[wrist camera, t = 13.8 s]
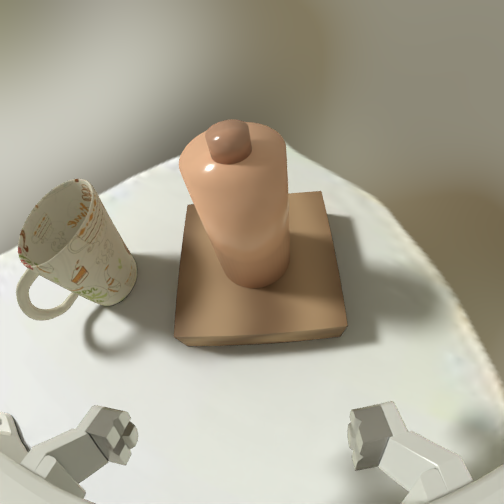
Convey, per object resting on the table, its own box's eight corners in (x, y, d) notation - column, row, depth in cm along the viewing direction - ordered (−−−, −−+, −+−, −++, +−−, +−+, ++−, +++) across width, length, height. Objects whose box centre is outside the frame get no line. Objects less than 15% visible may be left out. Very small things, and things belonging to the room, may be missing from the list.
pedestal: (187, 346, 21) (173, 336, 19) (196, 224, 28) (187, 204, 25) (340, 336, 20) (347, 325, 18) (319, 212, 26) (321, 191, 24)
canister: (220, 290, 20) (161, 177, 11) (222, 231, 23) (181, 113, 13) (293, 285, 20) (292, 161, 10) (286, 225, 22) (278, 99, 13)
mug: (164, 270, 25) (111, 200, 17) (82, 365, 21) (2, 331, 13) (120, 230, 29) (72, 167, 20) (49, 311, 24) (-15, 268, 16)
